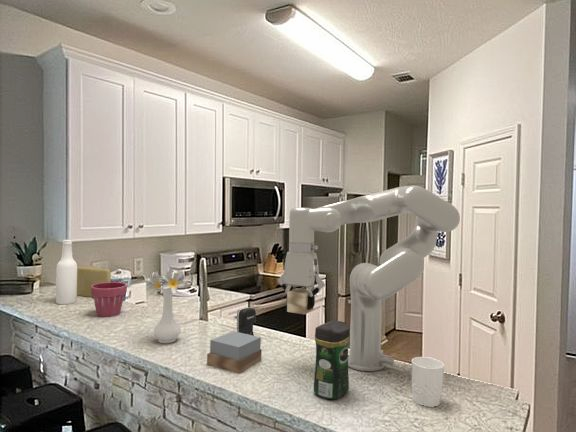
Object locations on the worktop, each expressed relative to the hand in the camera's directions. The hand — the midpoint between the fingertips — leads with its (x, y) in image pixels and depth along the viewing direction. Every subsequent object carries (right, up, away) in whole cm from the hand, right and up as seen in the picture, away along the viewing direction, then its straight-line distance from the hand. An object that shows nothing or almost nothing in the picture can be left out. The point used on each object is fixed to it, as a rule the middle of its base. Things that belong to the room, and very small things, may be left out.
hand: (300, 306), depth 124 cm
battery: (-19, -18, +24) cm, 35 cm away
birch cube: (0, -1, 0) cm, 1 cm away
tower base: (-20, -18, +2) cm, 27 cm away
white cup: (+32, -20, -20) cm, 42 cm away
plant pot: (-82, -15, +53) cm, 99 cm away
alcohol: (-110, -14, +71) cm, 131 cm away
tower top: (-20, -14, +2) cm, 25 cm away
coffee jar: (+8, -19, -16) cm, 26 cm away
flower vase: (-47, -17, +21) cm, 55 cm away
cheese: (-102, -14, +85) cm, 133 cm away
